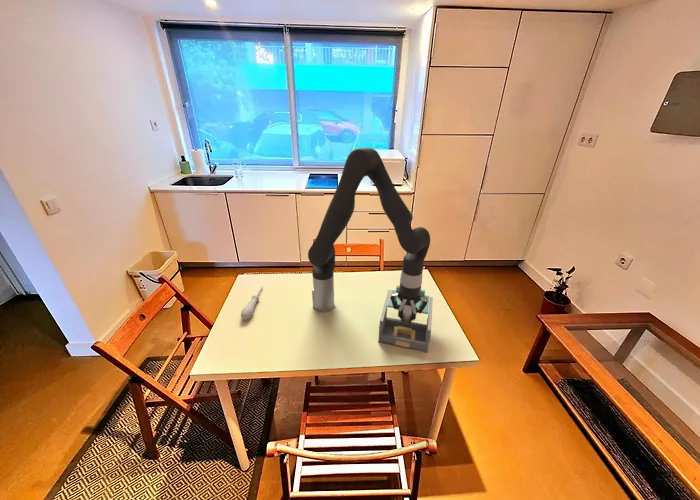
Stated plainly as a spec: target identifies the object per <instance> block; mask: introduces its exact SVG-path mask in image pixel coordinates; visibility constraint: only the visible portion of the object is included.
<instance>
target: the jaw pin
mask: <svg viewBox="0 0 700 500" xmlns="http://www.w3.org/2000/svg"><path fill="white" fill-rule="evenodd" d="M412 313H413V310H412V306H411V305H406V304H405V305H404V307H403V308H402V317H401V319H400V320H401V323H402V324H404V325H410V324H411V322H413V321H412Z"/></svg>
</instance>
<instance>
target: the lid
mask: <svg viewBox="0 0 700 500" xmlns="http://www.w3.org/2000/svg"><path fill="white" fill-rule="evenodd" d="M399 288H400V285H396V287H395V289H391V293H394V294H398V292H399ZM391 293H390V297H391ZM420 295H421V297H422V298H427V299H428V300H427V305H426V306H425V308H424V309H423V311H422V313H421V314H425V315H428V313H429V300H430V296H429V295H426V290H425V289H421V291H420ZM390 297H389V300H388V305H387V308H390V309H391V308H392V309H394V307H393V304H392V301H391V298H390ZM396 300H397V304H398V305H400V303H401V301H400V299H399V298H398V297H397V299H396ZM420 305H421V301H419V302H418V303H416V307H417V308H419V306H420Z"/></svg>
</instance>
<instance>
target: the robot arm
mask: <svg viewBox="0 0 700 500" xmlns="http://www.w3.org/2000/svg"><path fill="white" fill-rule="evenodd" d="M344 163H345V164H344V167H343V169H342V173H341V176H340V180H339V183H338V184H337V187H336V189H335V192H334V194H333V197H332V199H331V201H330V203H329V205H328V208H327V210H326V213H325V215H324V218H323V220H322V223H321V224H320V228H319V231H318V234H317V235H316V237H315V239H314V241H313V243H312V245H311V246H310V247H309V249H308V251H307V258H308V261H309V262H310V264H311V265H313V267H312V270H311V271H312V273H311V274H312V285H313V286H312V287H313V289H312V290H311V298H312V308H314V309H315V310H316V311H318V312H321V313H323V312H329V311H331V310H333V309H334V308H335V282H334V281H335V280H334V276H335V275H334V273H335V267H336V250H335V246H334V245H335V243H336V241H337V240H338V238H339V237H340V236H341V235H342V233H343V232H344V230H345V229H346V227H347V226H348V224H349V222H350V220H351V219H352V216H353V215H354V214H353V213H354V212H355V207H356V203H355V202H356V201H355V200H356V192H357V190H358V188H359V186H360V184H361V182H362V181H363V179H364V178H366V177H368V178H369V180H371V182H372V183H373V185H374V186H375V188H376V190H377V191H376V192H378V196H379V201H380V205H381V207H382V209H383V211H384V213H385V215H386V216H387V219H389V221H390V223H391V224H392V226H393V229H394V231H395V234H396V238H397V241H398V243H399V245H400V247H401V248H402V249H403V250H404V251H405V252H406V254H405V255H404V256H403V259H402V266H401V274H400V278H399V286H400V288H399V292H398V294H394V293H390V294H391V297H389V298H391V301H392V304H393V307H394V308H393V310H397V311H398V312H397V317H398V318H399V320H401V317H402V308H403V307H404V305H405V304H406V305H411V306H412V310H413V313H412V322H413V321H415V320H416V318H417V314H423V313H422V311H423V309H424V308H425V306H426V305H427V300H428V299H427V298H422V297H421V295H420V291H421V290H422V284H423V271H424V263H425V259H426V257H427V254H428V251H429V248H430V245H431V235H430V231H428V229H426V228H425V227H422V226H418V227H415V228H413V227H412V225H411V222H412V221H413V220H414V217H413V214H412V212H411V211H410V210H409V208H408V206H407V205H406V203H405V202H404V200H403V198H402V197H401V195H400V194H399V192H398V190H397V189H396V187H395V185H394V183H393V181H392V179H391V177H390V175H389V173H388V170H387V169H386V166H385V164H384V162H383V160H382V157H381V155H380V154H379V152H378V151H377V150H376V149H374V148H372V147H358V148H354V149H352V150H351V151H350V152H349V154H348V155H347V158H346V160H345V162H344ZM397 297H398V298H399V299H400V301H401V303H400V305H398V304H397V300H396V299H397ZM419 301H421V305H420V306H419V308H417V307H416V303H418V302H419Z"/></svg>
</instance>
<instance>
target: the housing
mask: <svg viewBox="0 0 700 500" xmlns="http://www.w3.org/2000/svg"><path fill="white" fill-rule="evenodd" d="M391 290H392V289H391ZM391 290H390V289H387V293H386V297H385V301H384V304H383V307H382V311H381V315H380V319H379V327H378V330H379V332H378V341H377V343H380V344H384V345H389V346H395V347H398V348H403V349H408V350H413V351H418V352H422V353H428V349H429V343H430V338H431V333H432V325H433V324H432V320H433V299H434V298H433V296H429V308H428V314H427V320H426V324H424V323H419V322H413V321H412V322H411V324H410V325H404V324H402V323H401V319H400V318H399V319H397V318H393V317H387V312H388V302H389V298H390V294H391Z"/></svg>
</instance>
